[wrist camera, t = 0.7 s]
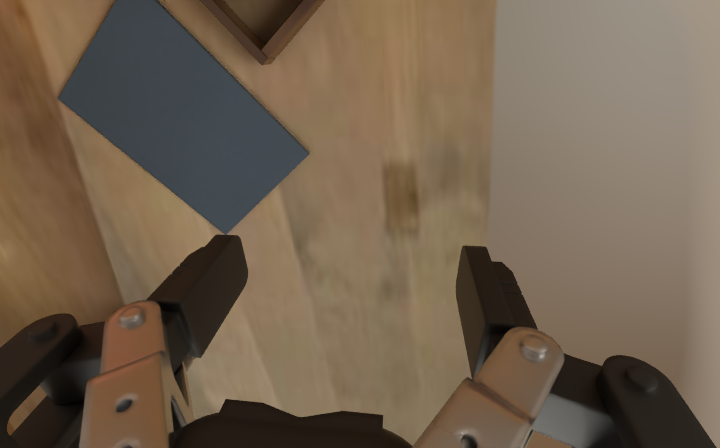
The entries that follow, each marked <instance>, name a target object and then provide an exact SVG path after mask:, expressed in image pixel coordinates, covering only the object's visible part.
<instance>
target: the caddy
mask: <svg viewBox="0 0 720 448" xmlns="http://www.w3.org/2000/svg"><path fill="white" fill-rule="evenodd" d="M200 1H201V2H202V3H203V4H204V5H205V6H206V7H207V8H208V9H209V10H210V11H211V12H212V13H213V14H214V15H215V17H216V18H217V19H218V20H219V21H220V22H221V23H222V24H223V25H224V26H225V27H226V28H227V29H228V30H229V31H230V32H231V33H232V34H233V35H234V37H235V38H236V39H237V40H238V41H239V42H240V43H241V44H242V45H243V46H244V47H245V48H246V49H247V50H248V51H249V52H250V53H251V54H252V55H253V56H254V58H255V59H256V60H257V61H258V62H259V63H260V64H261V65H267V64H271V63H272V62H273V61H274V59H275V58H276V57H277V56H278V55H279V54H280V52H281V51H282V50H283V49H284V48H285V47H286V45H287V44H288V43H289V42H290V41H291V39H292V38H293V37H294V36H295V35H296V34H297V32H298V31H299V30H300V29H301V28H302V27H303V25H304V24H305V23H306V22H307V21H308V20H309V18H310V17H311V16H312V15H313V14H314V13H315V11H316V10H317V9H318V8H319V7H320V5H321V4H322V3H323V2H324V1H325V0H302V1H301V2H300V4H299V5H298V6H297V7H296V8H295V10H294V11H293V12H292V13H291V14H290V16H289V17H288V18H287V19H286V21H285V22H284V23H283V24H282V25H281V27H280V28H279V29H278V30H277V31H276V33H275V34H274V35H273V36H272V37H271V39H270V40H269V41H268V42H267V44H266V45H264V44H263V43H262V42H261V41H260V40H259V39H258V38H257V37H256V35H255V34H254V33H253V32H252V31H251V30H250V29H249V28H248V27H247V26H246V25H245V24H244V22H243V21H242V20H241V19H240V18H239V17H238V16H237V15H236V14H235V13H234V12H233V11H232V10H231V8H230V7H229V6H228V5H227V4H226V3H225V2H224V1H223V0H200Z"/></svg>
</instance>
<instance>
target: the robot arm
mask: <svg viewBox="0 0 720 448" xmlns="http://www.w3.org/2000/svg"><path fill="white" fill-rule="evenodd" d="M247 278H248V268H247V264H246V260H245V255H244V251H243V247H242V242H241V239H240V237H239V236H237V235H215V236H214V237H213V238H212V239H211V241H210V242H209V243H208V244H207V245H206V246H205V247H201V248H200V249H198V250H196V251H195V252H193V253H191V254H190V255H188V256H187V257H186V259H185V260H184V261H183V262H182V263H181V264H180V266H178V267H177V268H176V269H175V270H174V271H173V274H170V275H169V276H168V278H167V279H166V280H165V281H164V282H163V283H162V284H161V285H160V286H159V287H158V288H157V289H156V290H155V291H154V292H153V293H152V294H151V295H150V297H149V298H148V299H147V300H142V301H137V302H133V303H130V304H128V305H125V306H123V307H122V308H120V309H118V310H117V311H115V312H114V313H113V314H112V315H111V316H110V317H109V318H108V319H107V320H106V322H100V323H94V324H88V325H82V326H79V324H78V323H77V321H76V319H75V318H74V316H72V315H70V314H55V315H51V316H48V317H45V318H42V319H40V320H37V321H35V322H33V323H32V324H30V325H28V326H27V327H25V328H24V329H22V330H21V331H20V332H19V333H17V334H16V335H15V336H14V337H13V338H12V339H10V340H9V341H8V342H7V343H6V344H4V345H3V346H2V347H1V348H0V448H526V446H527V444H528V442H529V440H530V438H531V436H532V434H533V432H534V431H536V432H538V433H541V434H543V435H546V436H548V437H551V438H553V439H556V440H558V441H560V442H563V443H565V444H567V445H570V446H572V448H716V446H715V445H714V443H713V442H712V440H711V439H710V438H709V436H708V435H707V433H706V432H705V430H704V429H703V427H702V426H701V424H700V423H699V421H698V420H697V419H696V417H695V416H694V414H693V413H692V411H691V410H690V408H689V407H688V405H687V404H686V403H685V401H684V400H683V398H682V397H681V395H680V394H679V392H678V391H677V390H676V388H675V387H674V385H673V384H672V383H671V381H670V380H669V379H668V378H667V377H666V376H665V375H663V373H661V372H660V371H659V370H657V369H656V368H655V367H653V366H651V365H649V364H648V363H646V362H644V361H641V360H639V359H636V358H633V357H629V356H622V355H616V356H611V357H609V358H607V359H606V360H605V362H604V364H603V365H602V366H600V365H597V364H594V363H591V362H587V361H584V360H581V359H578V358H575V357H572V356H569V355H567V354H565V353H563V351H562V349H561V347H560V346H559V344H558V343H557V342H556V341H555V340H554V339H553V338H551V337H550V336H549V335H547V334H545V333H544V332H542V331H539V330H538V329H537V326H536V324H535V322H534V319H533V317H532V315H531V313H530V310H529V308H528V306H527V304H526V301H525V299H524V297H523V295H522V294H521V290H520V288H519V286H518V285H517V281H516V279H515V277H514V275H513V272H512V271H511V270H509V268H508V267H506V266H505V265H504V264H503V263H502V262H492V261H491V258H490V256H489V253H488V250H487V248H486V247H482V246H463V247H462V250H461V255H460V261H459V268H458V274H457V280H456V299H457V304H458V309H459V314H460V319H461V324H462V330H463V335H464V340H465V345H466V350H467V355H468V361H469V366H470V371H471V376H472V379H470V378H468V377H467V378H465V379H464V380H463V381H462V382H461V384H460V385H459V386H458V387H457V389H456V390H455V391H454V393H453V394H452V395H451V397H450V398H449V399H448V401H447V402H446V403H445V405H444V406H443V407H442V409H441V410H440V411H439V413H438V414H437V415H436V416H435V418H434V419H433V420H432V422H431V423H430V424H429V426H428V427H427V428H426V430H425V431H424V432H423V434H422V435H421V436H420V438H419V439H418V440H417V442H416V443H415V444H414V445H413V446H412V445H411V444H409V443H408V442H407V441H405V440H404V439H403V438H401V437H400V436H398V435H396V434H394V433H393V432H391V431H388V430H386V429H383V415H377V414H368V413H358V412H348V411H340V412H333V413H327V414H320V415H314V416H308V417H297V416H294V415H291V414H289V413H286V412H284V411H282V410H279V409H277V408H274V407H272V406H269V405H267V404H264V403H259V402H249V401H239V400H230V399H226V400H225V402H224V404H223V406H222V408H221V410H220V412H219V413H214V414H211V415H207V416H204V417H202V418H199V419H197V420H195V418H194V414H193V408H192V402H191V396H190V390H189V384H188V378H187V370H188V369H189V367H190V365H191V364H192V362H193V360H194V359H195V358H196V357H198V358H201V357H202V355H203V353H204V352H205V350H206V349H207V347H208V345H209V344H210V342H211V340H212V339H213V337H214V336H215V334H216V332H217V331H218V329H219V327H220V326H221V324H222V323H223V321H224V319H225V318H226V316H227V314H228V313H229V311H230V310H231V308H232V306H233V305H234V303H235V301H236V300H237V298H238V297H239V295H240V293H241V292H242V290H243V288H244V287H245V285H246V282H247ZM39 385H40V387H41V388H42V389H43V390H44V392H45V393H46V394H47V396H46V397H45V398H44V399H43V400H42V401H41V403H40V404H39V405H38V406H37V407H36V408H35V409H34V410H33V411H32V413H31V414H30V415H29V416H28V417H27V418H26V419H25V420H24V421H23V422H22V424H21V425H20V426H19V427H18V428H17V429H16V430H15V431H14V432H13V433H12V435H11V436H10V435H9V434H8V432H7V423H8V420H9V418H10V416H11V415H12V413H13V412H14V411H15V410H16V409H17V408H18V407H19V406H20V405H21V403H22V402H23V401H24V400H25V399H26V398H27V397H28V396H29V395H30V394H31V393H32V392H33V391H34V390H35V389H36V388H37V387H38V386H39Z"/></svg>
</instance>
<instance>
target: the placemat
mask: <svg viewBox="0 0 720 448" xmlns="http://www.w3.org/2000/svg"><path fill="white" fill-rule="evenodd" d="M58 99H59V100H60V101H61V102H63V103H64V104H65V105H66V106H68V107H69V108H70V109H71V110H72V111H74V112H75V113H76V114H77V115H79V116H80V117H81V118H82V119H84V120H85V121H86V122H87V123H88V124H90V125H91V126H92V127H93V128H95V129H96V130H97V131H98V132H100V133H101V134H102V135H103V136H104V137H106V138H107V139H108V140H109V141H111V142H112V143H113V144H114V145H116V146H117V147H118V148H119V149H120V150H122V151H123V152H124V153H125V154H127V155H128V156H129V157H130V158H132V159H133V160H134V161H135V162H136V163H138V164H139V165H140V166H141V167H143V168H144V169H145V170H146V171H148V172H149V173H150V174H151V175H152V176H154V177H155V178H156V179H157V180H159V181H160V182H161V183H162V184H164V185H165V186H166V187H167V188H168V189H170V190H171V191H172V192H173V193H175V194H176V195H177V196H178V197H180V198H181V199H182V200H183V201H184V202H186V203H187V204H188V205H189V206H191V207H192V208H193V209H194V210H196V211H197V212H198V213H199V214H200V215H202V216H203V217H204V218H205V219H207V220H208V221H209V222H210V223H212V224H213V225H214V226H215V227H216V228H218V229H219V230H220V231H221V232H223V233H224V234H225V235H226V234H227V233H228V232H229V231H230V230H231V229H232V228H233V227H234V226H235V225H236V224H238V223H239V222H240V221H241V220H242V219H243V218H244V217H245V216H246V215H247V214H248V213H249V212H250V211H251V210H252V209H253V208H254V207H255V206H256V205H257V204H258V203H259V202H260V201H261V200H262V199H263V198H264V197H265V196H266V195H267V194H268V193H269V192H271V191H272V190H273V189H274V188H275V187H276V186H277V185H278V184H279V183H280V182H281V181H282V180H283V179H284V178H285V177H286V176H287V175H288V174H289V173H290V172H291V171H292V170H293V169H294V168H295V167H296V166H297V165H298V164H299V163H300V162H301V161H302V160H304V159H305V158H306V157H307V156H308V155H309V152H308V151H307V150H306V149H305V148H304V147H303V146H302V145H301V144H300V143H299V142H298V141H297V140H296V139H295V138H294V137H293V136H292V135H291V134H290V133H289V132H288V131H287V130H286V129H285V128H284V127H283V126H282V125H281V124H280V123H279V122H278V121H277V120H276V119H275V118H274V117H273V116H272V115H271V114H270V113H269V112H268V111H267V110H266V109H265V108H264V107H263V106H262V105H261V104H260V103H259V102H258V101H257V100H256V99H255V98H254V97H253V96H252V95H251V94H250V93H249V92H248V91H247V90H246V89H245V88H244V87H243V86H242V85H241V84H240V83H239V82H238V81H237V80H236V79H235V78H234V77H233V76H232V75H231V74H230V73H229V72H228V71H227V70H226V69H225V68H224V67H223V66H222V65H221V64H220V63H219V62H218V61H217V60H216V59H215V58H214V57H213V56H212V55H211V54H210V53H209V52H208V51H207V50H206V49H205V48H204V47H203V46H202V45H201V44H200V43H199V42H198V41H197V40H196V39H195V38H194V37H193V36H192V35H191V34H190V33H189V32H188V31H187V30H186V29H185V28H184V27H183V26H182V25H181V24H180V23H179V22H178V21H177V20H176V19H175V18H174V17H173V16H172V15H171V14H170V13H169V12H168V11H167V10H166V9H165V8H164V7H163V6H162V5H161V4H160V3H159V2H158V1H157V0H116V1H115V3H114V5H113V6H112V8H111V10H110V11H109V13H108V15H107V16H106V18H105V20H104V21H103V23H102V25H101V27H100V28H99V30H98V32H97V33H96V35H95V37H94V38H93V40H92V42H91V43H90V45H89V47H88V48H87V50H86V52H85V54H84V55H83V57H82V59H81V60H80V62H79V64H78V65H77V67H76V69H75V70H74V72H73V74H72V76H71V77H70V79H69V81H68V82H67V84H66V86H65V87H64V89H63V91H62V92H61V94H60V96H59V97H58Z"/></svg>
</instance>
